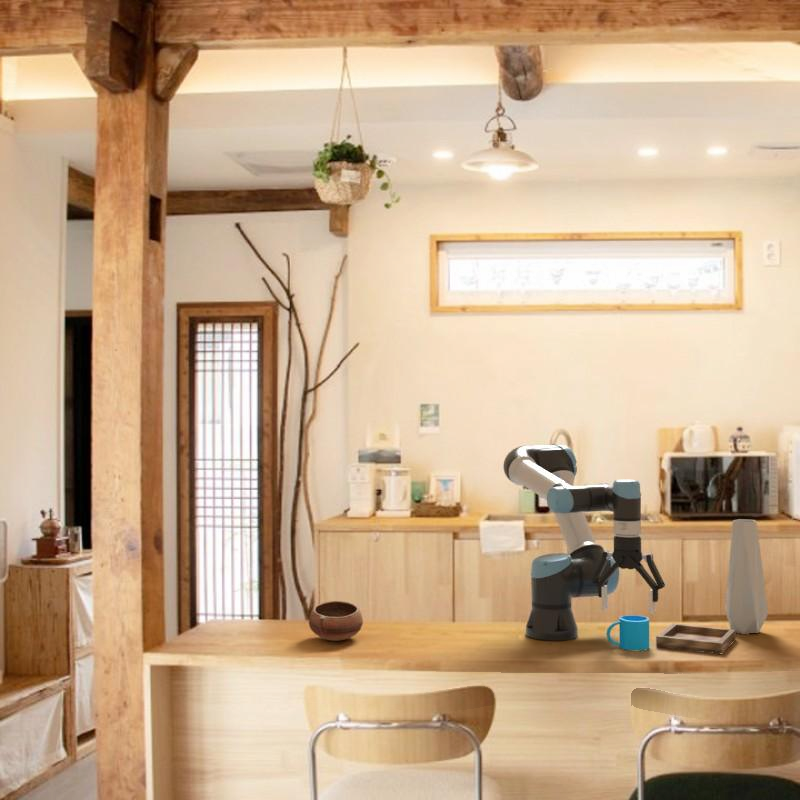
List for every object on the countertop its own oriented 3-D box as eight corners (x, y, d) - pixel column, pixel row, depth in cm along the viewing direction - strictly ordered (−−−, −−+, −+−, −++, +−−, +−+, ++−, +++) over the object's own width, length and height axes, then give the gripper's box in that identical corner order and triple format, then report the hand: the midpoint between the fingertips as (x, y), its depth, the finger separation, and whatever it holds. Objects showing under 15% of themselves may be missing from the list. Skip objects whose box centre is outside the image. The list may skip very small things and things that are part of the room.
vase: (771, 637, 307) (771, 523, 307) (730, 636, 309) (729, 523, 308) (764, 627, 319) (763, 518, 319) (724, 626, 321) (723, 517, 320)
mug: (644, 643, 301) (644, 614, 301) (653, 650, 293) (653, 621, 293) (602, 644, 301) (602, 615, 300) (610, 651, 292) (610, 622, 292)
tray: (656, 646, 297) (656, 636, 297) (672, 633, 313) (672, 623, 313) (722, 654, 288) (722, 643, 288) (735, 640, 304) (735, 629, 304)
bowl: (312, 647, 300) (312, 612, 300) (306, 634, 315) (305, 601, 315) (367, 644, 303) (367, 609, 303) (358, 631, 318) (357, 598, 318)
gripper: (580, 534, 299) (580, 609, 299) (668, 539, 287) (669, 617, 287) (588, 531, 306) (589, 605, 306) (675, 536, 294) (676, 612, 294)
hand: (628, 611), depth 296 cm, fingers open, 13 cm apart
